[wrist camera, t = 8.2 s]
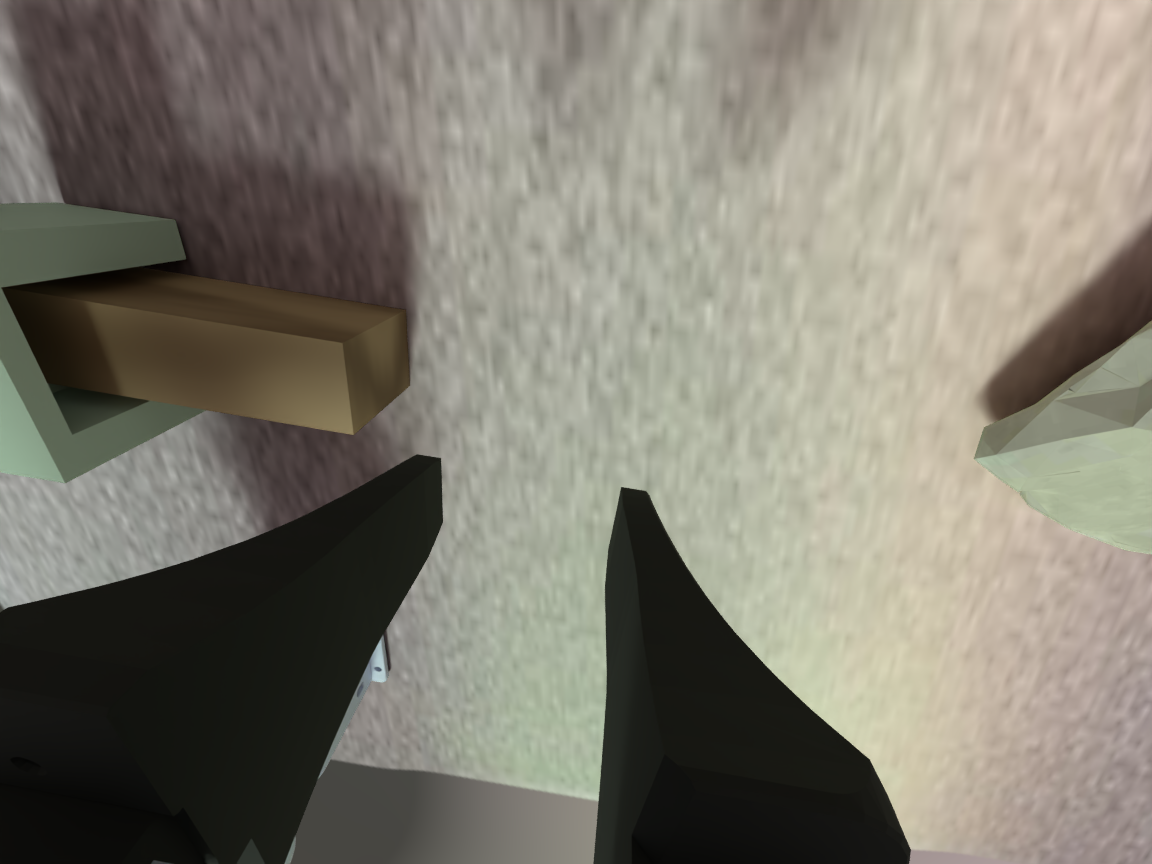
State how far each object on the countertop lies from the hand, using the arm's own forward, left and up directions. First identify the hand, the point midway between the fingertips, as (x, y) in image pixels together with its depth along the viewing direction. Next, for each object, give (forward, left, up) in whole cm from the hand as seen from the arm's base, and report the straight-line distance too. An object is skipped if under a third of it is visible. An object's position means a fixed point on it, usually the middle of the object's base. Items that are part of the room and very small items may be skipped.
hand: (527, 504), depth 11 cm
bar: (0, +13, -10) cm, 16 cm away
